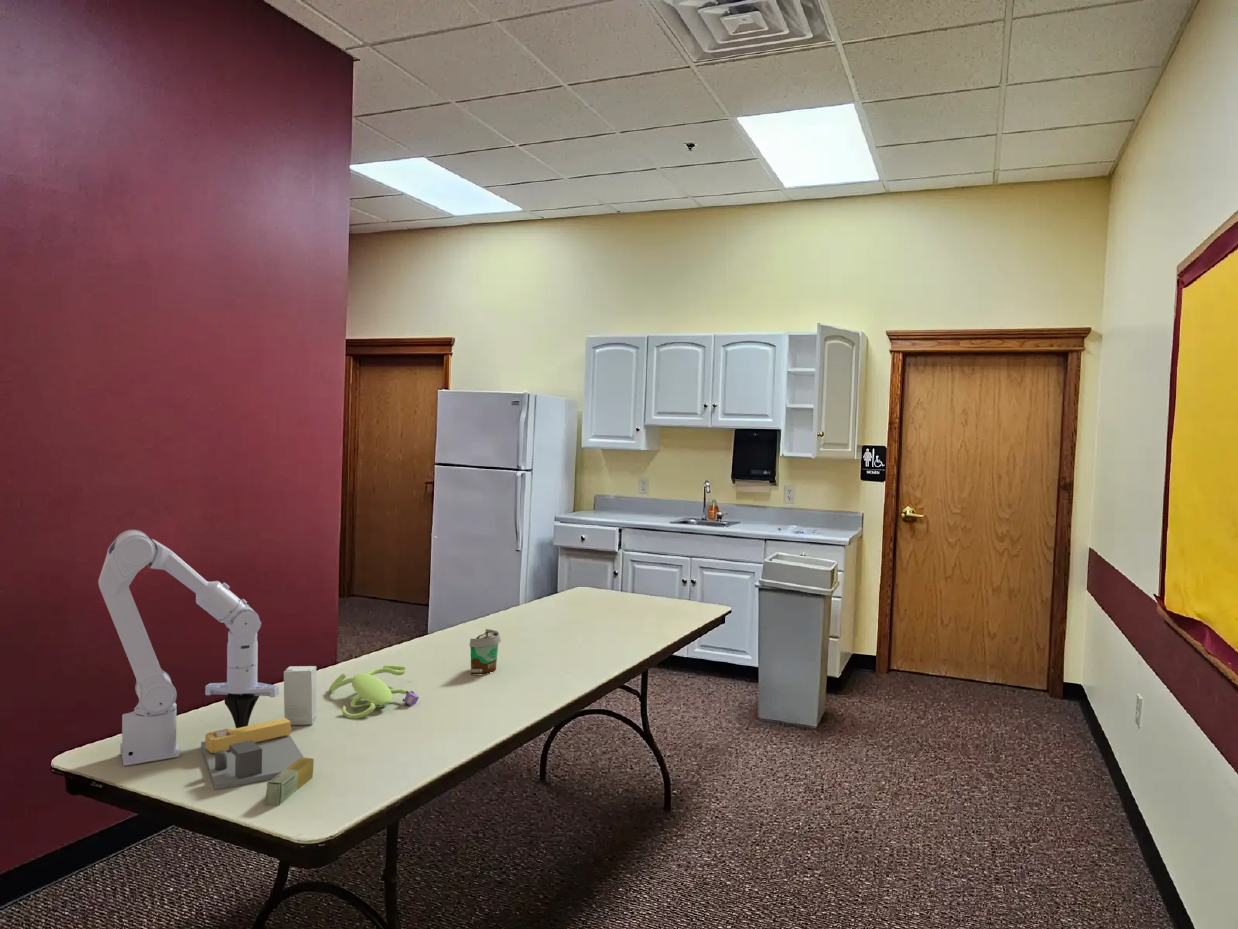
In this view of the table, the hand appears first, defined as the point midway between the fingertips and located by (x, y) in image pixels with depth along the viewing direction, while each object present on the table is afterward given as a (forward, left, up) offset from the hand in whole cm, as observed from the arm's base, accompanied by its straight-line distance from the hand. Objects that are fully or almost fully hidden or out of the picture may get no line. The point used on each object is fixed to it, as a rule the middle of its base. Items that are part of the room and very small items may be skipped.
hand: (242, 729), depth 169 cm
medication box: (+4, -30, -2) cm, 30 cm away
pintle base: (0, -12, -2) cm, 12 cm away
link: (+1, -6, -1) cm, 6 cm away
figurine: (+31, +14, -3) cm, 34 cm away
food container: (+64, +21, -2) cm, 68 cm away
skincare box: (+12, +4, -2) cm, 13 cm away
